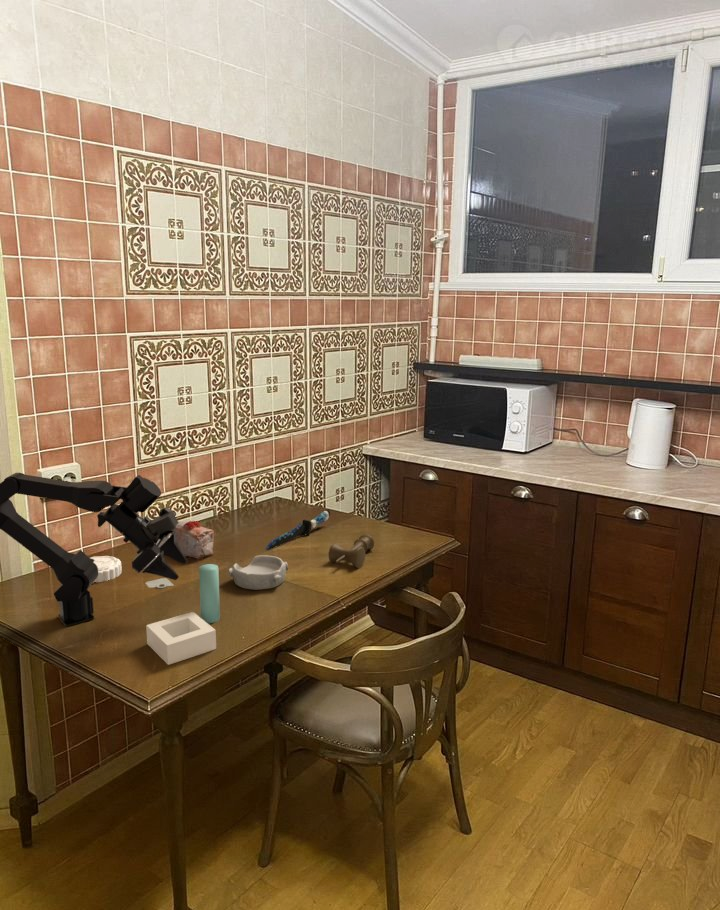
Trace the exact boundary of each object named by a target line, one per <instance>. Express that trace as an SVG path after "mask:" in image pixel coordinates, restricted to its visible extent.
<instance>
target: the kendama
mask: <svg viewBox="0 0 720 910" xmlns="http://www.w3.org/2000/svg"><path fill="white" fill-rule="evenodd" d="M374 546H375V540H374V538H373V536H371V535H369V534H362V535H360V536H359V538H358V539H355V541H354V542H353V546H352V547H351V548H350V549H348V548H347V549H346V548H343V547H342V546H341V545H339V544H338V543H336V542H335V543H332V544H331V545H330V547H329V550H328V560H329V562H330V563H332V562H334V563H339V562H342V561H345V562H348V563H351V564H352V565H353V566H354V567H355V568H356V569H360V568H361V567H363V565H364V563H365V560H366V552H367V551H371V550H373V548H374ZM359 567H360V568H359Z"/></svg>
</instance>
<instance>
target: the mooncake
mask: <svg viewBox="0 0 720 910" xmlns="http://www.w3.org/2000/svg"><path fill="white" fill-rule="evenodd" d="M90 558H91V559H94V563H95V564H96V565H97V567H98V576H97V578H96V580H95V581H94V582H96V583H103V582H109V581H110V580H115V578H118V577H119V576H120V575H121V574H122V571H123V570H122V569H123V568H122V561H121V560H120V559H119V558H117V557H115V556H111V555H110V556H109V555H102V556H95V555H94V556H92V557H90ZM108 580H109V581H108ZM94 582H93V583H92V584H95V583H94Z"/></svg>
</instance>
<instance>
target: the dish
mask: <svg viewBox="0 0 720 910" xmlns="http://www.w3.org/2000/svg"><path fill="white" fill-rule="evenodd" d="M288 570H289V565H288V562H287V561H283V560H282V558H280V557H278V556H275V555H273V556H272V555H266V554H264V555H255V556H254V557H253V558H252V559H251V562H250V563H249V564H248V565H247V566H245V567H242V566H240V565H239V564H238V563H237V562H236V563H234V564H233V566H232V567H230V568H229V569H228V576H229V577H230V578H233V581H234V584H235V585H237V586H238V587H239V588H242V589H247V590H259V591H260V590H267V589H273V588H276V587H279V586H280V585H281V584H282V583H283V582H284V581H285V579H286V574H287V572H286V571H288Z"/></svg>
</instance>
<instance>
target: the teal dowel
mask: <svg viewBox="0 0 720 910" xmlns="http://www.w3.org/2000/svg"><path fill="white" fill-rule="evenodd" d="M198 576H199V578H198V580H199V596H200V597H199V600H200V601H199V603H200V605H199V607H200V618H201V619H203V620H204V621H205V622H206V623H208V624H214V623H217V622H219V621H220V620H221V613H220V612H221V611H220V609H221V607H220V606H221V605H220V579H219V577H220V575H219V566H218V565H217V564H213V563H207V564H202V565H200V566H199V567H198Z"/></svg>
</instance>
